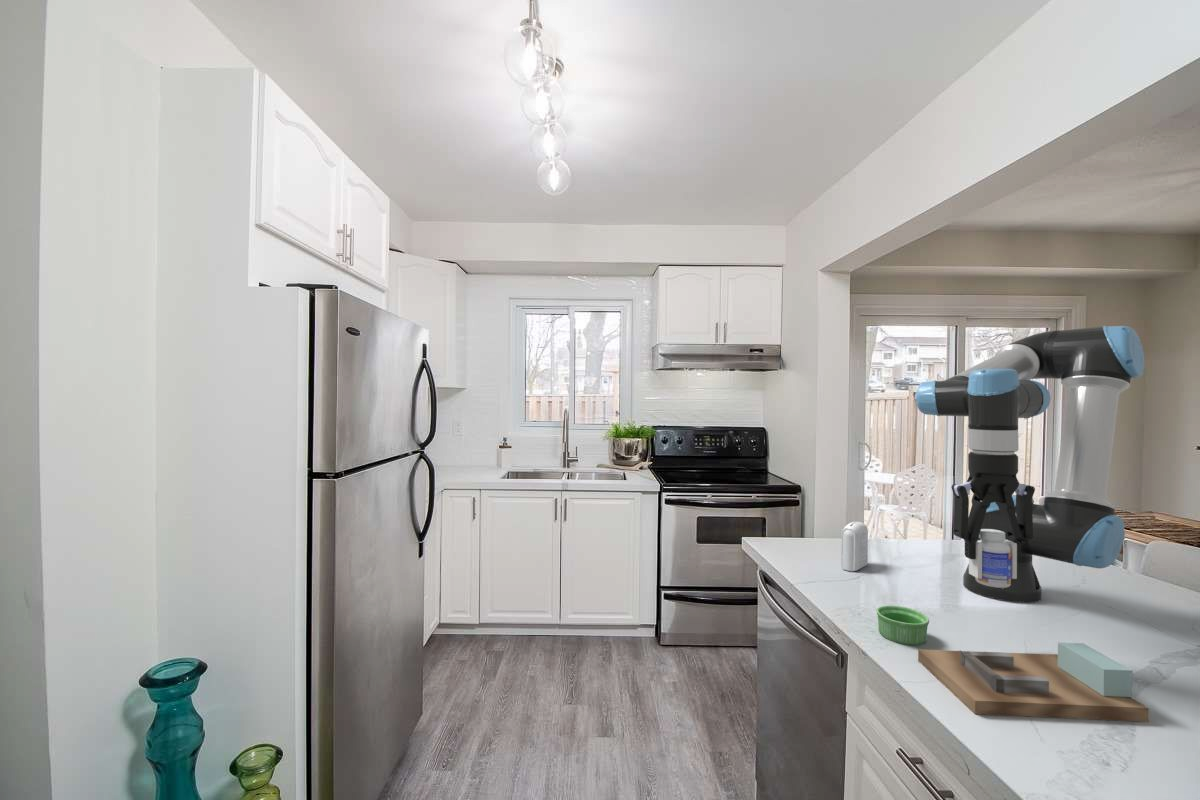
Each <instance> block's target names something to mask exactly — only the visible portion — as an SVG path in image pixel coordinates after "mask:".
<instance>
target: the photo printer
mask: <svg viewBox="0 0 1200 800" xmlns="http://www.w3.org/2000/svg"><path fill="white" fill-rule="evenodd" d="M868 529H869V528H868V527H867V524H865V523H864V522H862V521H852V522H849V523H848V524H846V525H845V526H844V528H843V529H842V532H841V553H840V554H841V562H840V563H841V569H843V570H844V571H847V572H856V571H858V570H861V569H863V568H864V567H866V566H867V565H868V561H869V560H868V559H869V558H868V556H869V554H868V553H869V552H868V551H869V550H868V549H869V545H868V544H869V541H868V540H869V530H868Z"/></svg>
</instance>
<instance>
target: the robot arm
mask: <svg viewBox="0 0 1200 800" xmlns="http://www.w3.org/2000/svg"><path fill="white" fill-rule="evenodd" d="M1145 365H1146V364H1145V354H1144V349H1143V344H1142V342H1141V339H1140V337H1139V334H1138V333H1137V332H1136V330H1135V329H1134V328H1132V327H1130V326H1127V325H1114V326H1113V325H1109V326H1108V325H1103V326H1097V327H1085V328H1072V329H1062V330H1049V331H1043V332H1038V333H1035V334H1032V335H1029V336H1026V337H1023V338H1021V339H1018V340H1015V341H1014V342H1011V343H1009V344H1006V345H1004V346H1003V347H1001V348H1000V349H998V350H997V351H996V353H995V354H994V355H993V356H992V357H990V358H988V359H986V360H984V361H981V362H980V363H979V362H978V364H977V363H976V364H975V365H973V366H971V367H970V368H967V369H966V370H963V371H962V372H960V373H958V374H955V375H953V376H951V377H950V378H947V379H944V380H936V379H935V380H931V381H922V383H920V384H919V386H918V387H917V390H916V393H915V401H916V407H917V409H918V410H919V412H920V413H922V414H924V415H926V416H927V415H929V416H937V417H942V416H943V417H945V416H946V417H968V426H967V428H968V443H967V444H968V447H967V448H968V449H969V450H971V451H970V452H969V453H968V455H967V469H968V473H969V476H968V478H967V480H966V482H963V483H960V484H958V483H957V484H956V483H953V484H952V485H951V491H952V493H953V495H954V501H953V526H952V527H953V528H952V530H953V531H952V533H953V535H954V536H956V537H958V538H959V539H963V541H964V555H965V557H966V558H967V559H968V564H967V566H966V569H965V572H964V573H963V578H962V579H963V580H962V581H963V582H962V583H963V584H962V585H963V587H964V588H965V589H967V590H969V591H970V592H972V593H974V594H977V595H980V596H984V597H986V598H991V599H995V600H999V601H1004V602H1012V603H1025V604H1026V603H1028V604H1029V603H1037V602H1039V601H1041V600H1042V596H1043V595H1042V591H1043V590H1042V586H1041V584H1040V581H1039V579H1038V576H1037V573H1036V570H1035V568H1034V565H1033V556H1037V557H1040V558H1046V559H1048V560H1049V559H1051V560H1054V561H1059V562H1063V563H1068V564H1072V565H1076V566H1078V567H1088V568H1094V569H1105V568H1107V567H1110V566H1111V565H1112V564H1113V563H1114V562H1115V561H1116V559H1117V558H1118V557H1119V555H1120V552H1121V551H1122V547H1123V544H1124V541H1125V540H1124V539H1125V535H1126V534H1125V533H1126V531H1125V528H1126V526H1125V525H1126V524H1125V521H1124V519H1123V518H1122V517H1120V516H1119V515H1117V514H1115V509H1116V507H1115V506H1113V504H1112V503H1110V501H1108V499H1107V496H1108V488H1109V487H1108V486H1109V477H1110V471H1111V462H1112V453H1113V445H1114V438H1115V430H1116V422H1117V414H1118V406H1119V398H1120V394H1121V393H1123V392H1124V391H1126V390H1127V389H1129V388H1130V387H1131V380H1132V379H1137V378H1140V377H1141V376H1143V374H1144V371H1145ZM1035 379H1036V380H1039V379H1051V380H1053V379H1057V380H1059V379H1060V385H1062V386H1063V387H1064V388H1065V389H1066V390H1067V398H1066V403H1065V405H1066V406H1065V412H1064V420H1063V427H1062V434H1061V440H1060V448H1059V456H1058V464H1057V471H1056V478H1055V485H1054V490H1053V491H1052V492H1050V493H1048V494H1047V495H1045V496H1044V501H1043V504H1036V503H1035V500H1034V494H1035V491H1036V487H1034V486H1033V485H1030V484H1029V485H1028V484H1025V483H1020V481H1019V480H1018V478H1017V475H1018V473H1019V456H1018V455H1017V452H1018V451H1019V450H1020V449H1019V448H1020V447H1019V419H1030V418H1034V417H1036V416H1039V415H1041V414H1043V413H1044V412H1045V411H1046V410H1047V409H1048V408H1049V406H1050V404H1051V399H1052V397H1051V394H1050V391H1049V389H1048V388H1047V387H1046V386H1045V385H1044V384H1043V383H1041V382H1039V381H1036V380H1035ZM1015 452H1016V453H1015ZM970 491H971V492H970ZM971 493H973V494H972V498H971V507H969V505H970V500H969V495H971ZM1014 493H1015V494H1014ZM969 509H970V510H969ZM981 529H994V530H999V531H1003V532H1005V538H1006V539H1005V541H1004V543H1006V544H1007V545H1009V547H1010V552H1011V585H1010V586H1009V587H1006V588H997V587H991V586H986V585H983V584H980V583H978V582H977V581H976V579H975V577H976V578H982V543H980V542H978V541H979V540H981V538H979V534H980V531H981Z"/></svg>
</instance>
